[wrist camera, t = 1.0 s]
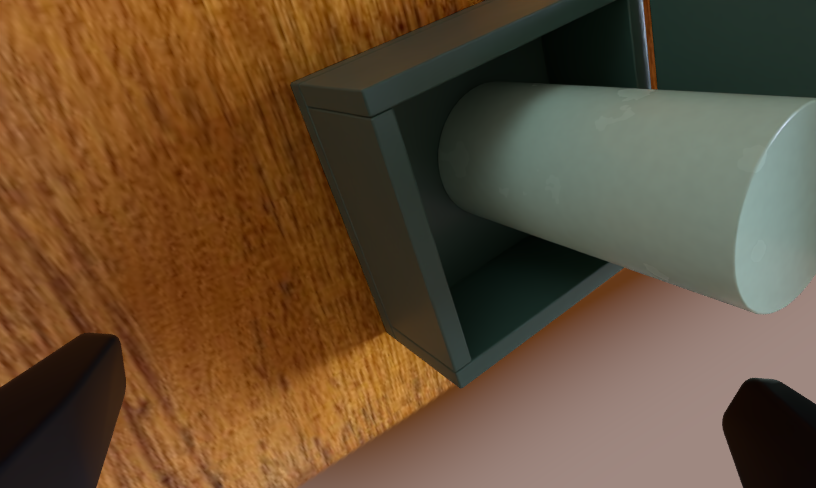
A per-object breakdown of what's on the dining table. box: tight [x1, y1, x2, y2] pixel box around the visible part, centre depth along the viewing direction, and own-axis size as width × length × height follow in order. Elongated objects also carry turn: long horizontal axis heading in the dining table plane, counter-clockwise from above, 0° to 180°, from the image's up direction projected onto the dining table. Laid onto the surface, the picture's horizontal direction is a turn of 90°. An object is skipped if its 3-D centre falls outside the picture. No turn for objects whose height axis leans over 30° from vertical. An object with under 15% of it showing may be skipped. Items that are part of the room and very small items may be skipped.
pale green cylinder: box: [438, 81, 816, 314], centre depth 20 cm, size 6×6×12 cm
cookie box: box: [291, 0, 651, 388], centre depth 22 cm, size 12×11×5 cm
